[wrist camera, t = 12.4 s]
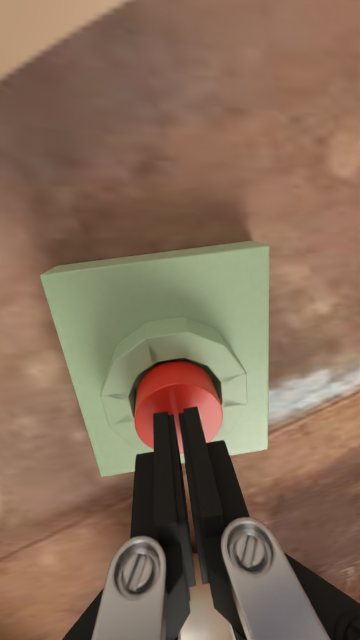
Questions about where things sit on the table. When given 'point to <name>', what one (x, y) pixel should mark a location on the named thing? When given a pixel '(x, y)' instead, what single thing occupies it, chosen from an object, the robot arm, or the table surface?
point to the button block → (165, 338)
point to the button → (176, 399)
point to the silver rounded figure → (204, 613)
